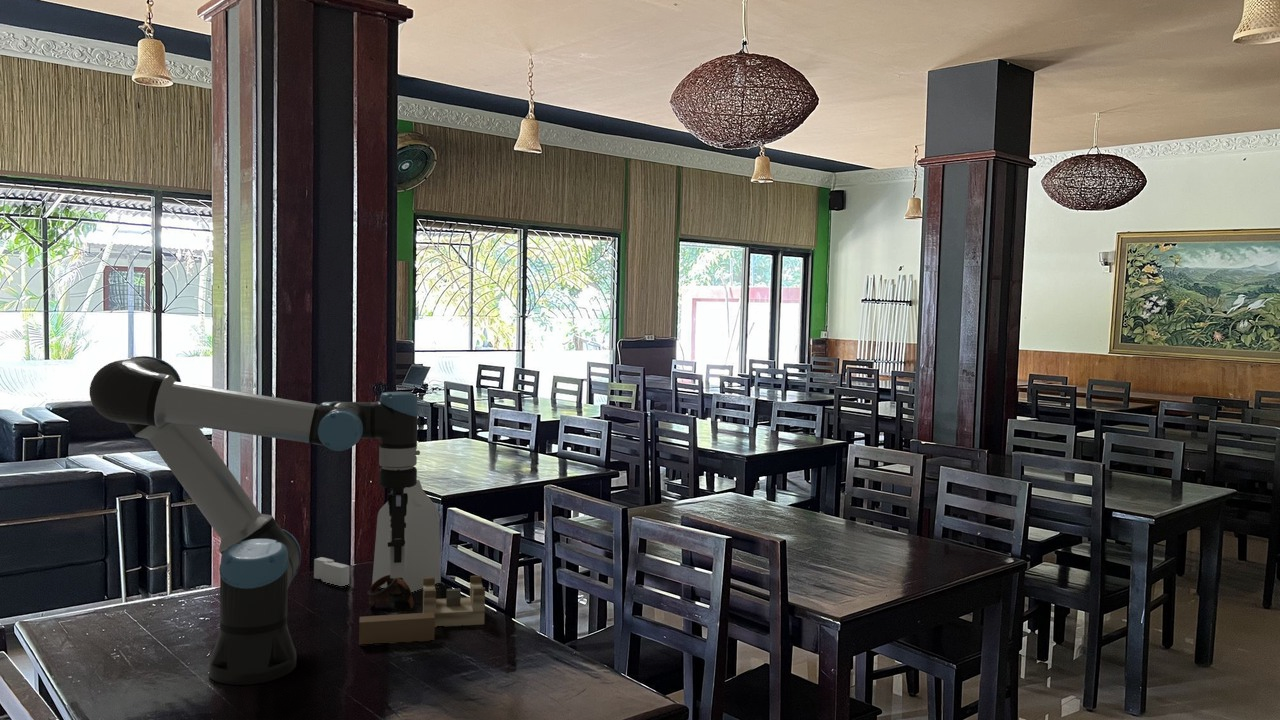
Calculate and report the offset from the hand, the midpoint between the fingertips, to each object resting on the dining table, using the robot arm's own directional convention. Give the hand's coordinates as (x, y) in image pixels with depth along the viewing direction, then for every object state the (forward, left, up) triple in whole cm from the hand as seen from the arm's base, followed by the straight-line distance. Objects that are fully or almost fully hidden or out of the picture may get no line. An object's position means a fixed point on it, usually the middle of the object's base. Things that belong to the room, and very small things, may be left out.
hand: (396, 568), depth 189 cm
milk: (+37, -2, -15) cm, 40 cm away
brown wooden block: (-1, 0, -15) cm, 15 cm away
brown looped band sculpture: (+22, +1, -15) cm, 27 cm away
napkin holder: (+43, +16, -16) cm, 49 cm away
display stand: (+10, -12, -15) cm, 22 cm away
